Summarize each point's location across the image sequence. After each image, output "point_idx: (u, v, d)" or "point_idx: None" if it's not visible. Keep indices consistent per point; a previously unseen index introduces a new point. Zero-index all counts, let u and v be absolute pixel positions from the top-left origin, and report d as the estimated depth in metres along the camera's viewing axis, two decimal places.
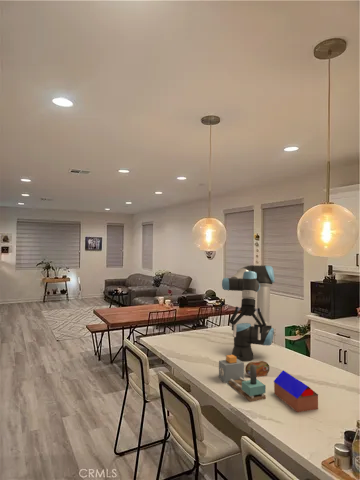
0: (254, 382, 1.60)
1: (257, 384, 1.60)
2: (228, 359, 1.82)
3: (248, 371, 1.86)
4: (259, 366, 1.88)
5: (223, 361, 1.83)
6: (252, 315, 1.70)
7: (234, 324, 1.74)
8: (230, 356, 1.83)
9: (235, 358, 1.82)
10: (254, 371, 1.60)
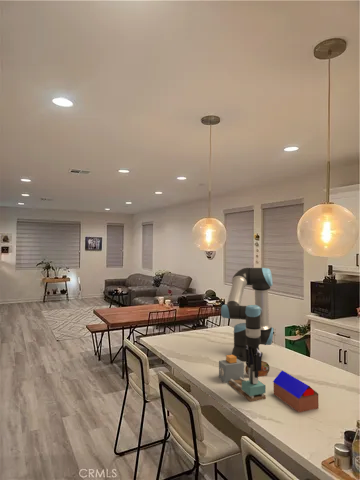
0: None
1: (257, 384, 1.60)
2: (228, 359, 1.82)
3: (248, 371, 1.86)
4: None
5: (223, 361, 1.83)
6: (251, 356, 1.60)
7: None
8: (230, 356, 1.83)
9: (235, 358, 1.82)
10: None
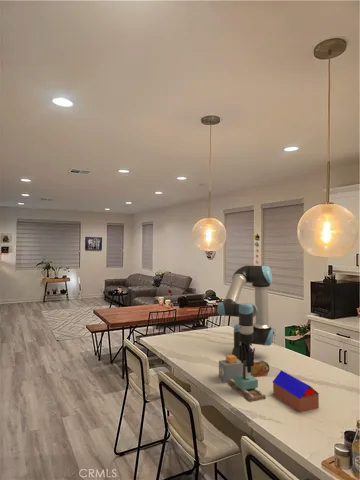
0: None
1: (249, 379, 1.67)
2: (228, 359, 1.82)
3: None
4: (259, 366, 1.88)
5: (223, 361, 1.83)
6: (244, 352, 1.67)
7: None
8: (230, 356, 1.83)
9: (235, 358, 1.82)
10: None
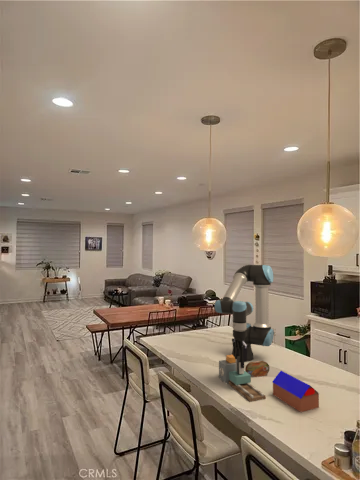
0: None
1: (243, 374, 1.73)
2: (228, 359, 1.82)
3: (248, 371, 1.86)
4: (259, 366, 1.88)
5: (223, 361, 1.83)
6: (238, 348, 1.73)
7: None
8: (230, 356, 1.83)
9: None
10: None
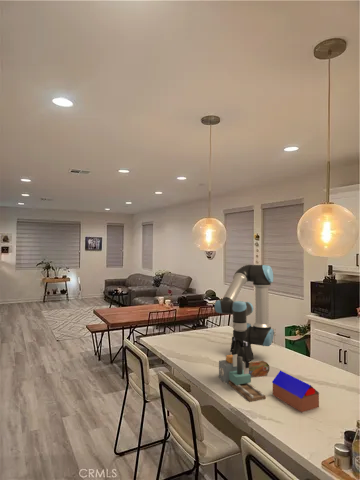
0: (240, 372, 1.73)
1: (243, 374, 1.73)
2: (228, 359, 1.82)
3: None
4: (259, 366, 1.88)
5: (223, 361, 1.83)
6: (240, 348, 1.71)
7: (234, 354, 1.80)
8: (230, 356, 1.83)
9: None
10: (240, 362, 1.73)
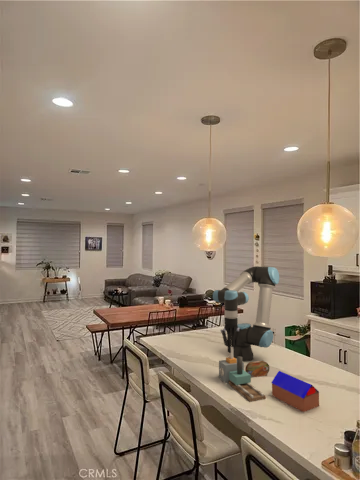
0: (240, 372, 1.73)
1: (243, 374, 1.73)
2: (228, 361, 1.82)
3: (248, 371, 1.86)
4: (259, 366, 1.88)
5: (223, 361, 1.83)
6: None
7: (231, 346, 1.84)
8: (230, 358, 1.83)
9: (235, 360, 1.82)
10: (240, 362, 1.73)
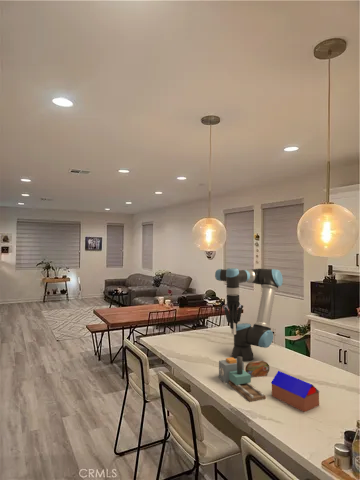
0: (240, 372, 1.73)
1: (243, 374, 1.73)
2: (228, 362, 1.82)
3: (248, 371, 1.86)
4: (259, 366, 1.88)
5: (223, 361, 1.83)
6: None
7: (234, 322, 1.88)
8: (230, 359, 1.83)
9: (235, 361, 1.82)
10: (240, 362, 1.73)
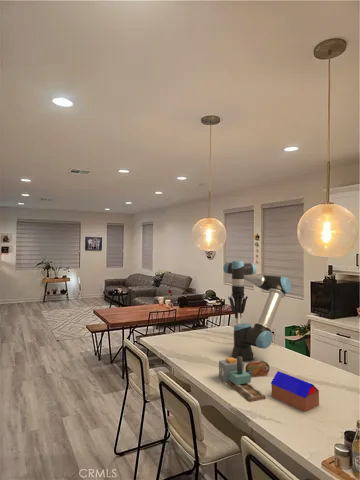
0: (240, 372, 1.73)
1: (243, 374, 1.73)
2: (228, 362, 1.82)
3: (248, 371, 1.86)
4: (259, 366, 1.88)
5: (223, 361, 1.83)
6: None
7: (238, 312, 1.96)
8: (230, 359, 1.83)
9: (235, 361, 1.82)
10: (240, 362, 1.73)
